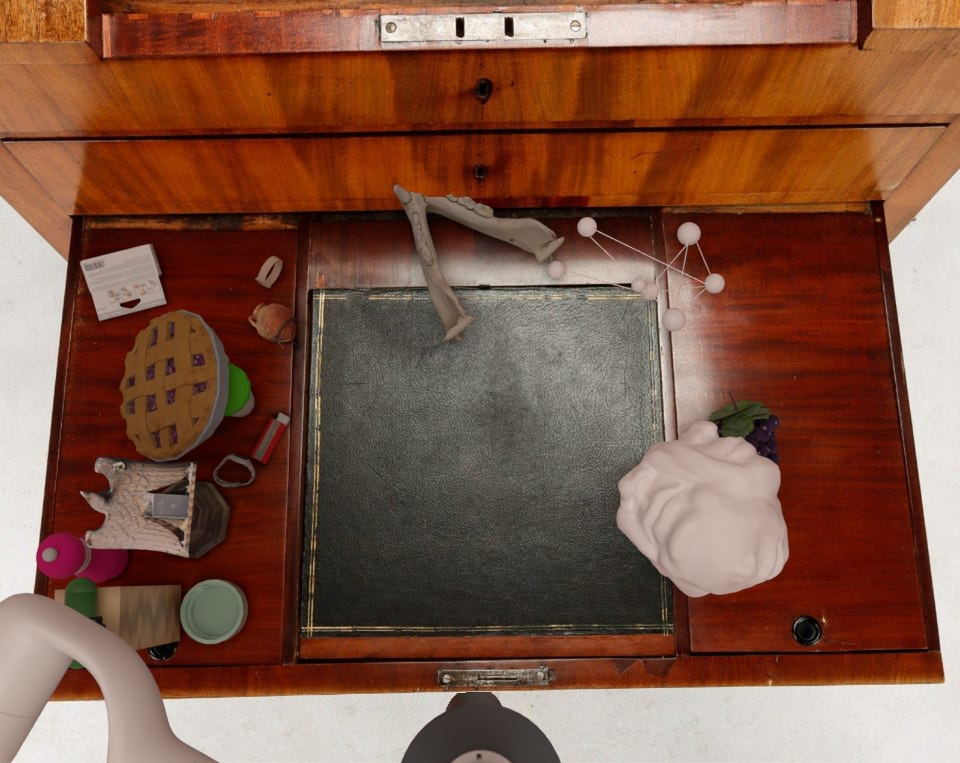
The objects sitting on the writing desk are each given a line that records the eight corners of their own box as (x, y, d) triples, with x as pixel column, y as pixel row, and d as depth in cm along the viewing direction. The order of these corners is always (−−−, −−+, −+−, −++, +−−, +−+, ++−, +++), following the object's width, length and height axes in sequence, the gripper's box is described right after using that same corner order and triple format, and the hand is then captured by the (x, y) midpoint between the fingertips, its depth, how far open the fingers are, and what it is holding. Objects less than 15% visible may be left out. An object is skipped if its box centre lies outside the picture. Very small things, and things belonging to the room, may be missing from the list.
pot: (316, 326, 140) (289, 356, 141) (280, 292, 141) (255, 322, 142) (302, 324, 134) (275, 355, 135) (265, 289, 135) (238, 320, 136)
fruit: (808, 470, 131) (776, 378, 129) (748, 500, 130) (714, 407, 127) (771, 459, 141) (740, 373, 139) (714, 487, 140) (682, 400, 137)
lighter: (267, 464, 136) (292, 418, 138) (264, 463, 135) (289, 416, 137) (251, 457, 137) (276, 411, 138) (248, 455, 135) (274, 409, 137)
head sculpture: (685, 650, 113) (562, 529, 129) (777, 625, 128) (656, 520, 144) (774, 498, 104) (630, 390, 121) (861, 491, 120) (723, 396, 136)
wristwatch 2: (254, 484, 133) (248, 451, 133) (213, 491, 133) (207, 458, 133) (259, 480, 137) (253, 448, 136) (219, 487, 137) (214, 455, 136)
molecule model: (677, 246, 151) (705, 341, 145) (539, 253, 145) (562, 353, 139) (715, 199, 139) (748, 302, 133) (565, 205, 132) (592, 313, 126)
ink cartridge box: (153, 243, 142) (171, 303, 143) (83, 260, 141) (102, 320, 143) (149, 243, 139) (167, 303, 141) (78, 260, 139) (97, 321, 140)
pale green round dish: (248, 640, 131) (242, 642, 127) (187, 643, 130) (179, 645, 127) (248, 577, 133) (243, 577, 129) (188, 581, 132) (180, 581, 129)
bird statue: (268, 476, 136) (203, 442, 102) (256, 563, 133) (184, 558, 99) (161, 466, 136) (59, 428, 102) (146, 553, 133) (36, 544, 99)
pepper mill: (139, 542, 133) (84, 536, 114) (120, 589, 132) (61, 591, 112) (94, 527, 134) (32, 518, 114) (75, 573, 132) (8, 573, 113)
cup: (260, 373, 139) (237, 349, 125) (269, 421, 138) (246, 403, 123) (211, 384, 139) (181, 361, 124) (219, 432, 137) (189, 415, 122)
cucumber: (99, 666, 107) (87, 669, 103) (69, 668, 107) (55, 671, 103) (102, 576, 109) (90, 576, 106) (73, 577, 109) (60, 578, 105)
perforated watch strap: (259, 284, 143) (251, 274, 138) (275, 260, 144) (268, 249, 139) (273, 292, 142) (266, 282, 137) (289, 268, 143) (283, 257, 138)
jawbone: (458, 144, 146) (461, 107, 131) (563, 251, 145) (578, 226, 130) (347, 246, 144) (336, 221, 129) (453, 356, 143) (455, 344, 128)
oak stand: (180, 640, 131) (118, 654, 107) (125, 643, 130) (51, 658, 107) (181, 584, 132) (120, 586, 109) (127, 587, 132) (54, 589, 109)
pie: (228, 292, 127) (200, 285, 123) (246, 439, 121) (216, 437, 117) (136, 342, 138) (107, 337, 134) (148, 479, 132) (118, 478, 128)
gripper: (-130, 694, 80) (-28, 673, 96) (66, 683, 80) (133, 664, 97) (-122, 608, 81) (-24, 602, 98) (70, 598, 82) (135, 594, 99)
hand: (54, 633), depth 98 cm, fingers open, 9 cm apart
